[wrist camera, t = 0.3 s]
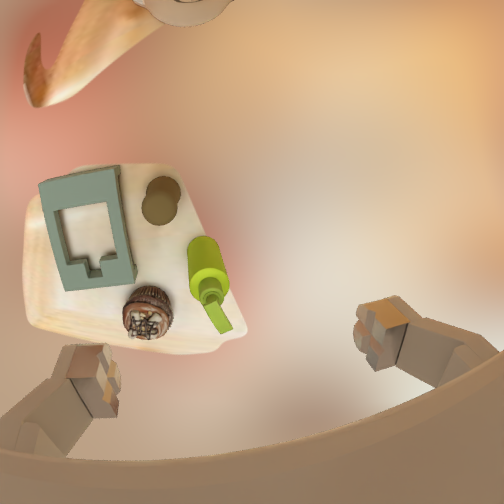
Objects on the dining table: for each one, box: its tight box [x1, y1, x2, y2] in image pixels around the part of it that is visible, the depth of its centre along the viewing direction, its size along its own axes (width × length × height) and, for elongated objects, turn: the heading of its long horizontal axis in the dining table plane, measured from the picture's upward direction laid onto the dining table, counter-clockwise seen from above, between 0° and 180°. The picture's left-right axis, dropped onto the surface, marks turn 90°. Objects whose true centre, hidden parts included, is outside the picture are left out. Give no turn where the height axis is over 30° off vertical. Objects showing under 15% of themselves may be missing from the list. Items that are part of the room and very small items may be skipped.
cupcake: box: [123, 286, 174, 340], centre depth 54 cm, size 10×10×10 cm
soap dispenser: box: [187, 236, 233, 334], centre depth 48 cm, size 6×7×20 cm
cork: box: [142, 176, 181, 226], centre depth 46 cm, size 6×6×11 cm
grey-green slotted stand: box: [38, 165, 138, 291], centre depth 48 cm, size 20×14×4 cm
